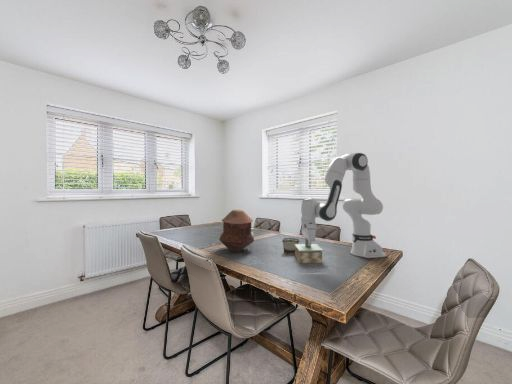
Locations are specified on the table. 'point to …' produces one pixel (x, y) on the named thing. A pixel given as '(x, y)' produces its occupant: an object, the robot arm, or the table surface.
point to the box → (308, 256)
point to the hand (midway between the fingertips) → (308, 244)
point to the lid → (307, 247)
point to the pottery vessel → (236, 231)
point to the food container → (289, 244)
